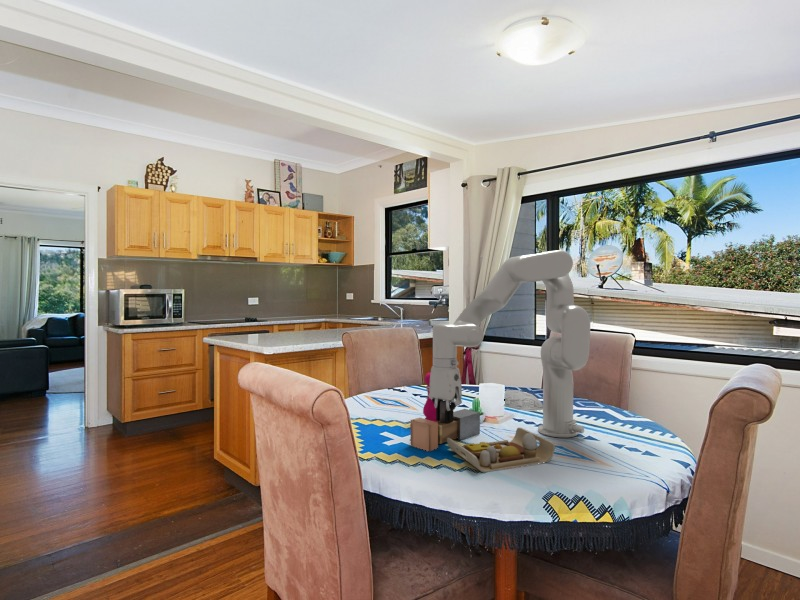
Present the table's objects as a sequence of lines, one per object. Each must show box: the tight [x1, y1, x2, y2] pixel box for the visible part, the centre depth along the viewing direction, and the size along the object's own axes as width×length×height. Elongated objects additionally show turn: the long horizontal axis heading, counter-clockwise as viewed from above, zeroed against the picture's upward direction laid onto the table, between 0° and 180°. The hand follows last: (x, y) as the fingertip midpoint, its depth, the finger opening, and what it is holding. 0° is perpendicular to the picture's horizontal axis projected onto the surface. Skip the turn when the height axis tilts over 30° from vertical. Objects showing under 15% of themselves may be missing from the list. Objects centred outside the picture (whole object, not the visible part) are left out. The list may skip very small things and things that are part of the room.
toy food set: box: [446, 427, 556, 474], centre depth 135 cm, size 25×18×8 cm
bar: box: [437, 400, 458, 445], centre depth 151 cm, size 4×16×12 cm, turn 133°
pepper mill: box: [422, 371, 437, 422], centre depth 167 cm, size 7×7×20 cm
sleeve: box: [453, 408, 481, 441], centre depth 155 cm, size 6×10×7 cm, turn 133°
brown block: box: [410, 417, 439, 452], centre depth 143 cm, size 8×4×8 cm, turn 43°
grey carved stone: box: [504, 389, 543, 412], centre depth 196 cm, size 16×25×7 cm, turn 37°
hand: (444, 420), depth 149 cm, fingers closed on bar, 3 cm apart
